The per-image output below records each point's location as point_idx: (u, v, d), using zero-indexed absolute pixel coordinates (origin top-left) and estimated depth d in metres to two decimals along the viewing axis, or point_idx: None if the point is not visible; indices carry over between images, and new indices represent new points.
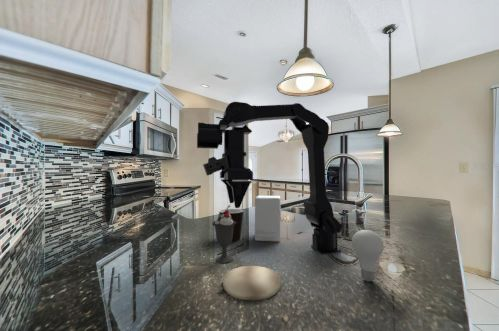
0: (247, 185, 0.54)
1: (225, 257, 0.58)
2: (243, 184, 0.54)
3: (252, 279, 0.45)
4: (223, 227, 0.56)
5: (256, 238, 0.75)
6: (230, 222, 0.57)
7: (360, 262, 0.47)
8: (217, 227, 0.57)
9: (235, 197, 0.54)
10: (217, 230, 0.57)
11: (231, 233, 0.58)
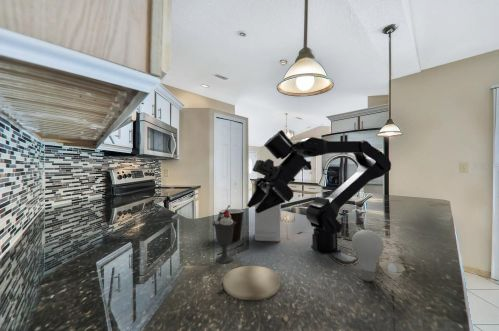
0: (279, 202, 0.56)
1: (225, 257, 0.58)
2: (277, 199, 0.56)
3: (252, 279, 0.45)
4: (223, 227, 0.56)
5: (256, 238, 0.75)
6: (230, 222, 0.57)
7: (360, 262, 0.47)
8: (217, 227, 0.57)
9: (262, 203, 0.56)
10: (217, 230, 0.57)
11: (231, 233, 0.58)
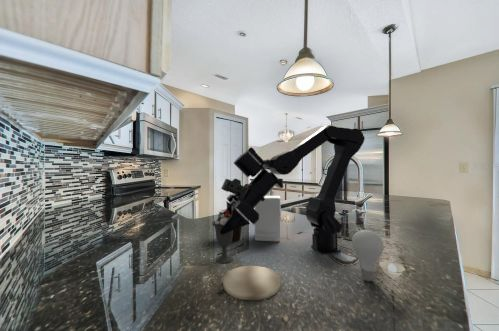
0: (244, 224, 0.55)
1: (225, 257, 0.58)
2: (241, 220, 0.55)
3: (252, 279, 0.45)
4: None
5: (256, 238, 0.75)
6: None
7: (360, 262, 0.47)
8: (217, 227, 0.57)
9: (227, 224, 0.55)
10: (217, 230, 0.57)
11: (231, 233, 0.58)
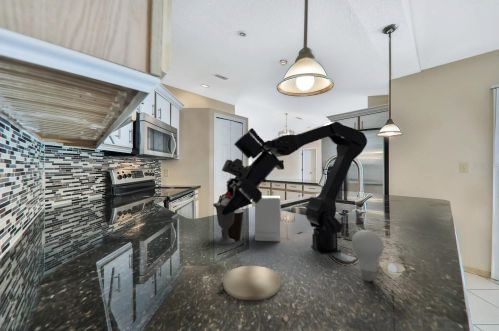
0: (246, 203, 0.54)
1: (227, 239, 0.57)
2: (244, 200, 0.54)
3: (252, 279, 0.45)
4: None
5: (256, 238, 0.75)
6: None
7: (360, 262, 0.47)
8: (218, 208, 0.56)
9: (229, 204, 0.54)
10: (218, 211, 0.56)
11: (233, 214, 0.57)
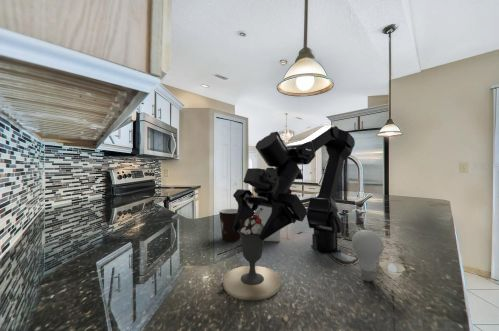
0: (287, 223, 0.44)
1: (256, 275, 0.45)
2: (284, 219, 0.44)
3: None
4: (258, 237, 0.44)
5: None
6: None
7: (360, 262, 0.47)
8: (250, 238, 0.43)
9: (269, 226, 0.42)
10: (249, 242, 0.44)
11: (263, 243, 0.46)
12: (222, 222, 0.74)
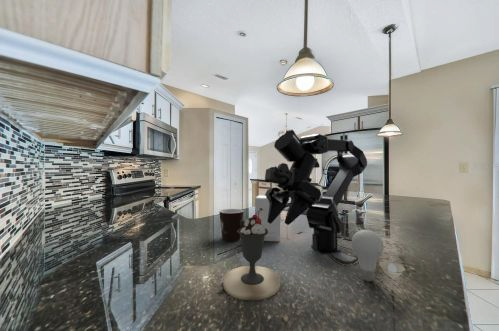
0: (308, 206, 0.50)
1: (256, 275, 0.45)
2: (304, 203, 0.50)
3: None
4: (258, 237, 0.44)
5: None
6: (264, 229, 0.45)
7: (360, 262, 0.47)
8: (250, 238, 0.43)
9: (291, 211, 0.49)
10: (249, 242, 0.44)
11: (263, 243, 0.46)
12: (222, 222, 0.74)
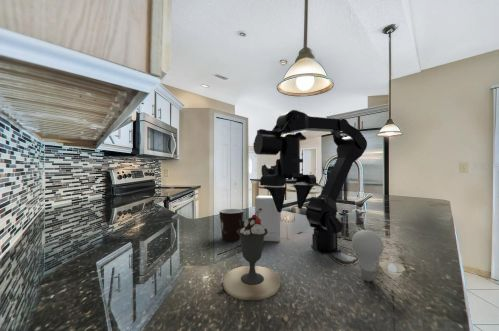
0: (280, 191, 0.56)
1: (256, 275, 0.45)
2: (278, 190, 0.57)
3: None
4: (258, 237, 0.43)
5: None
6: (264, 229, 0.45)
7: (360, 262, 0.47)
8: (249, 238, 0.43)
9: (274, 201, 0.58)
10: (249, 242, 0.43)
11: None
12: (222, 222, 0.74)
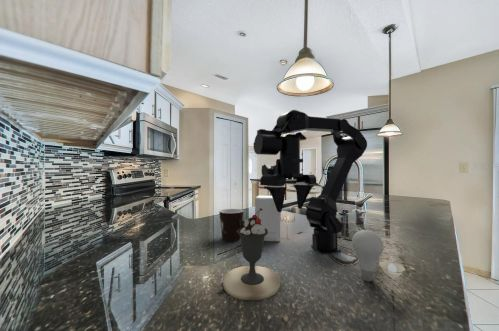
0: (280, 191, 0.56)
1: (256, 275, 0.45)
2: (278, 190, 0.57)
3: None
4: (258, 237, 0.43)
5: None
6: (264, 230, 0.45)
7: (360, 262, 0.47)
8: (250, 238, 0.43)
9: (274, 201, 0.58)
10: (249, 242, 0.43)
11: None
12: (222, 222, 0.74)
